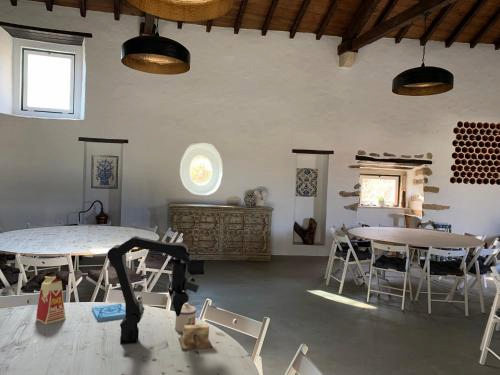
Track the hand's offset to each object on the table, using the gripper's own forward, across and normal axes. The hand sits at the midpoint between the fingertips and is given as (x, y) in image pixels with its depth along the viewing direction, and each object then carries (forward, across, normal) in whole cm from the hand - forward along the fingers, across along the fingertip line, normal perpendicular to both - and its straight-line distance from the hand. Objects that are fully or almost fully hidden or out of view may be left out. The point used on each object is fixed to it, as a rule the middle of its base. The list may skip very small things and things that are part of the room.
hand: (176, 311), depth 159 cm
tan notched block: (+12, -3, -8) cm, 15 cm away
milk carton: (+13, +31, +51) cm, 61 cm away
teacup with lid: (+13, +13, -7) cm, 19 cm away
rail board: (+12, -3, -8) cm, 15 cm away
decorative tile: (+13, +34, +26) cm, 45 cm away
